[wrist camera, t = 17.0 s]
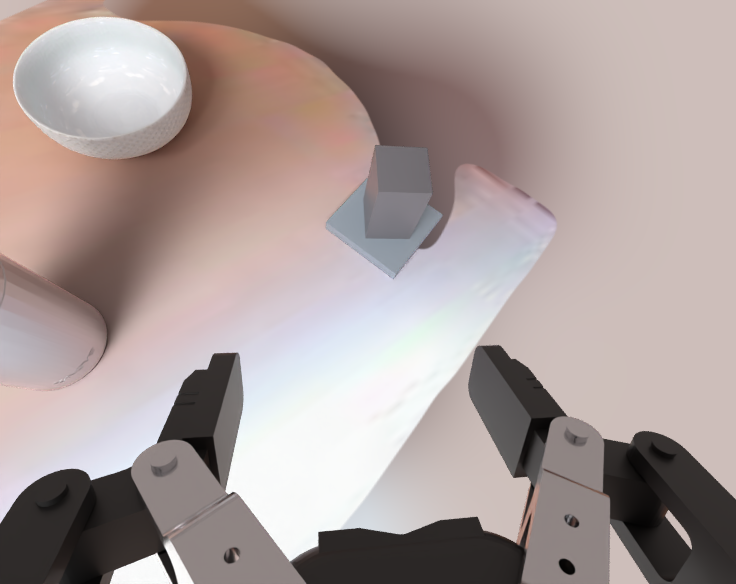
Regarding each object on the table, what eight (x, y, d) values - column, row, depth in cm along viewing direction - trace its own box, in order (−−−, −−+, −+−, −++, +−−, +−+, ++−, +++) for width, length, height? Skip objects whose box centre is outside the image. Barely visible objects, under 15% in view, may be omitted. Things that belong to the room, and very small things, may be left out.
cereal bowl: (159, 201, 45) (133, 162, 39) (22, 149, 45) (-28, 101, 39) (226, 96, 51) (214, 47, 45) (105, 50, 51) (75, -6, 45)
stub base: (325, 228, 47) (327, 200, 41) (375, 175, 50) (383, 143, 45) (393, 278, 46) (404, 257, 40) (439, 221, 49) (455, 194, 44)
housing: (365, 238, 46) (378, 191, 37) (363, 199, 47) (375, 145, 38) (409, 239, 46) (432, 193, 37) (405, 200, 48) (427, 147, 39)
